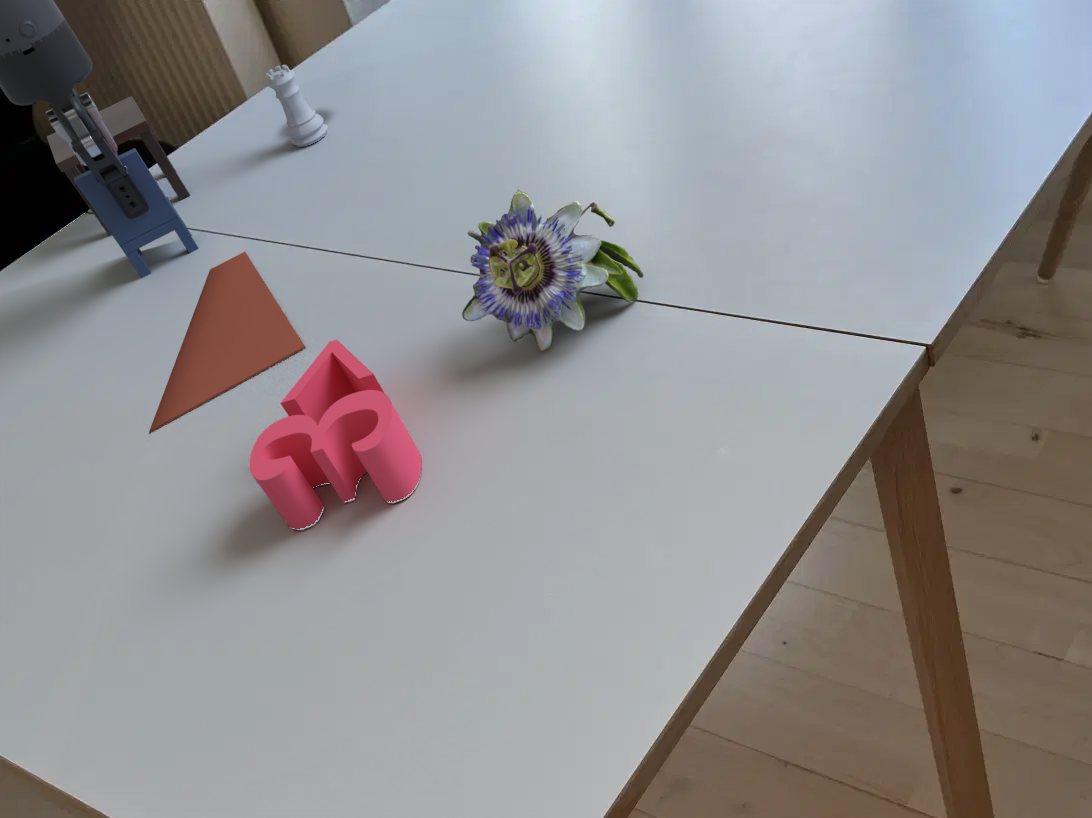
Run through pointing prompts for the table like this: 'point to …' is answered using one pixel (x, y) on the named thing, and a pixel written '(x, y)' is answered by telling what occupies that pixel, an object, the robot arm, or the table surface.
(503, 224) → the passion flower
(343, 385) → the letters
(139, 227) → the chair
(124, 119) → the side table
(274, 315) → the flat trapezoid
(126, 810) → the table surface
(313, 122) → the rook chess piece
